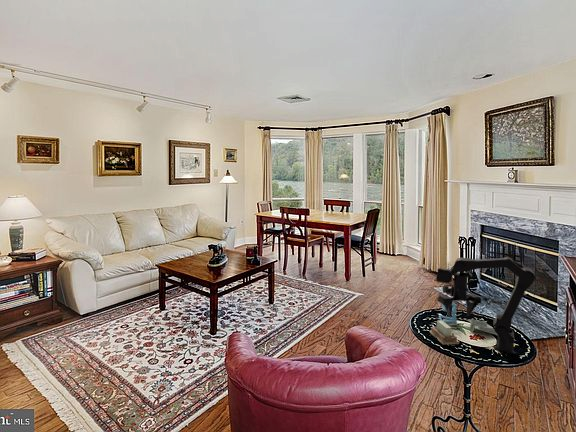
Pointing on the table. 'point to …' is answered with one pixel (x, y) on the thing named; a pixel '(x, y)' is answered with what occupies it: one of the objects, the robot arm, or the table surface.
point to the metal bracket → (481, 326)
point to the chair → (454, 311)
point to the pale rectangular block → (443, 328)
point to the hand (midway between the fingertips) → (458, 316)
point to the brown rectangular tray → (443, 339)
